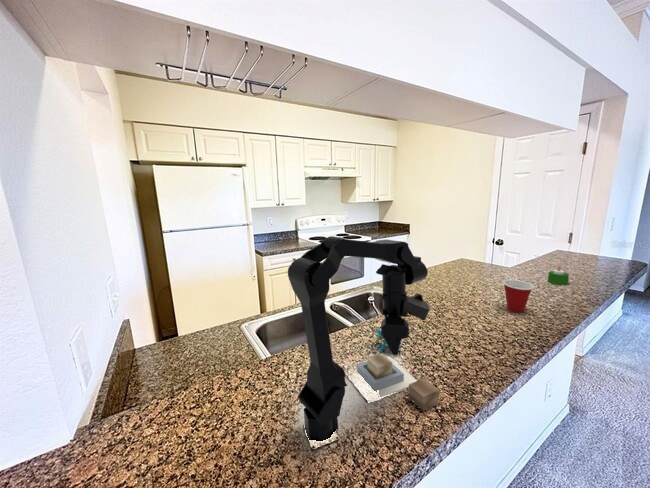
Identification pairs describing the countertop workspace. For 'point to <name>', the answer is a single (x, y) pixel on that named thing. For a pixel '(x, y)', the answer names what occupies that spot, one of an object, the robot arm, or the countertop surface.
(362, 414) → the countertop surface
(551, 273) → the candle
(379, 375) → the maple cube
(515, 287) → the plastic cup
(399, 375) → the board
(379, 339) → the gear
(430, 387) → the walnut block
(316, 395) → the robot arm
